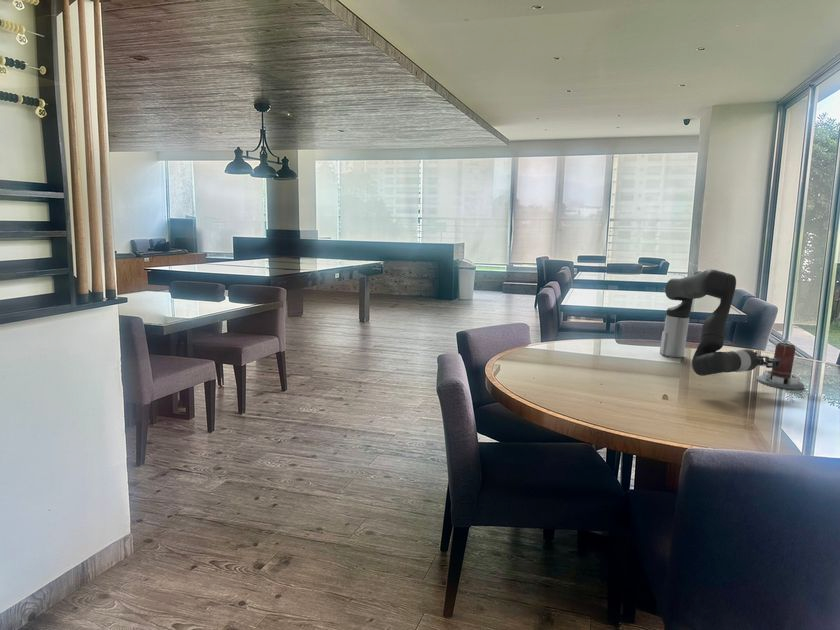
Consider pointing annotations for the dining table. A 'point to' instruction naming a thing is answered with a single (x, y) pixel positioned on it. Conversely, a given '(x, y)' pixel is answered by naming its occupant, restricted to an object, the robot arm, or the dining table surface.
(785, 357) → the can
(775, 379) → the ring collar
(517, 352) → the dining table surface
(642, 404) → the dining table surface
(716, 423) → the dining table surface
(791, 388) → the slate plate
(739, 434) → the dining table surface
